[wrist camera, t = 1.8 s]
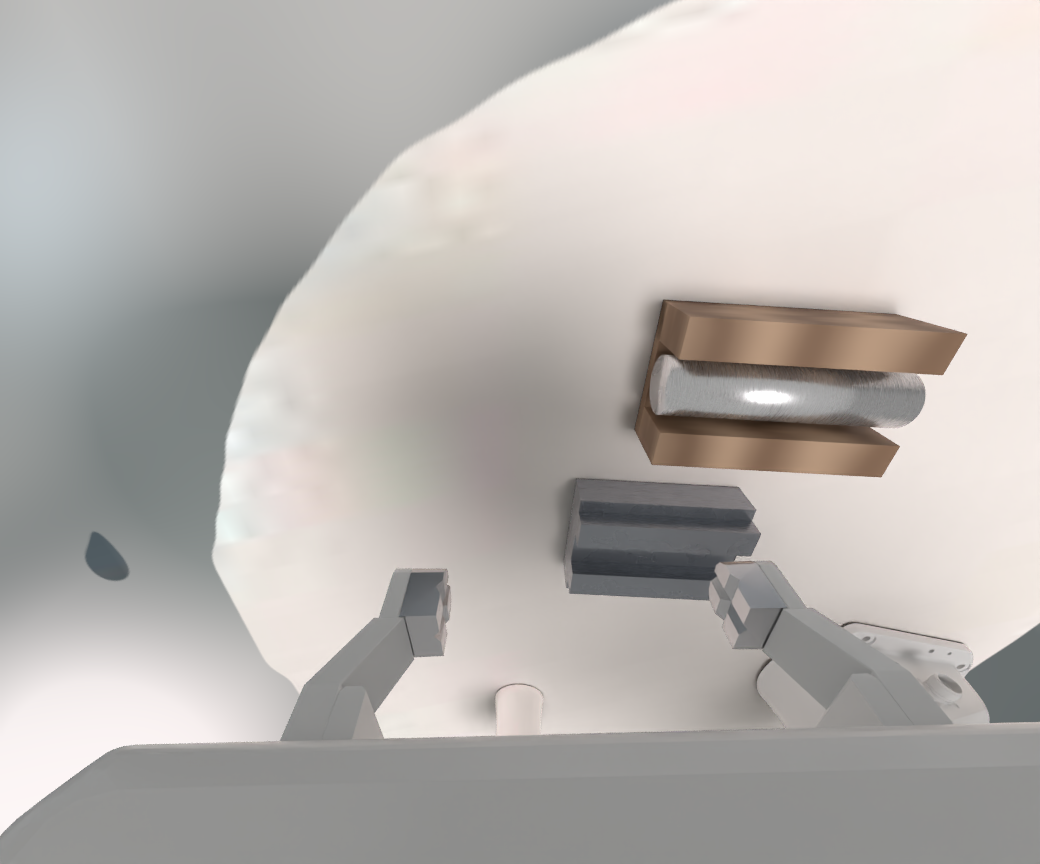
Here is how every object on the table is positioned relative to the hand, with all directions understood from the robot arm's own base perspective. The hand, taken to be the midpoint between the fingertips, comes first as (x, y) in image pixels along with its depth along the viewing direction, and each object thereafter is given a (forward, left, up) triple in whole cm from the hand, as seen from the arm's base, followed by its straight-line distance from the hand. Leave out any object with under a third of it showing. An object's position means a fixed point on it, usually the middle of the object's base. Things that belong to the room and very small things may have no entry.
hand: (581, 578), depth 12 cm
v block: (-10, +15, -20) cm, 27 cm away
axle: (-15, 0, -19) cm, 24 cm away
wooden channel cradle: (-15, 0, -20) cm, 25 cm away
